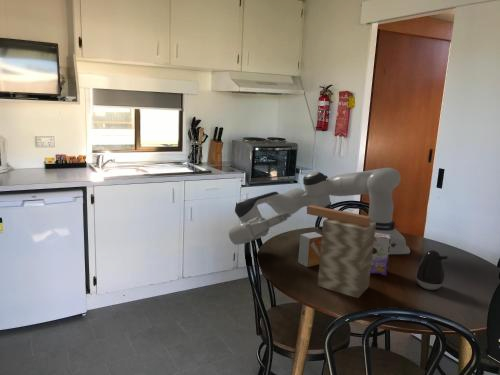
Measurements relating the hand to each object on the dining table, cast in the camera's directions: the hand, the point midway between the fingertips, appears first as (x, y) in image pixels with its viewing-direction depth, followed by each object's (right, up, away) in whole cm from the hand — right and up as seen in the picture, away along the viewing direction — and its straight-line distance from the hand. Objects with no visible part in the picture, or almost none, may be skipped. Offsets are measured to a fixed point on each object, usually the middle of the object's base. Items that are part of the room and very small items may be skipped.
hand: (284, 216), depth 174 cm
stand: (+22, -26, -11) cm, 36 cm away
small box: (+12, -21, +10) cm, 26 cm away
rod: (+19, 0, -14) cm, 23 cm away
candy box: (+37, -23, +5) cm, 44 cm away
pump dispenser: (+56, -27, -8) cm, 63 cm away
